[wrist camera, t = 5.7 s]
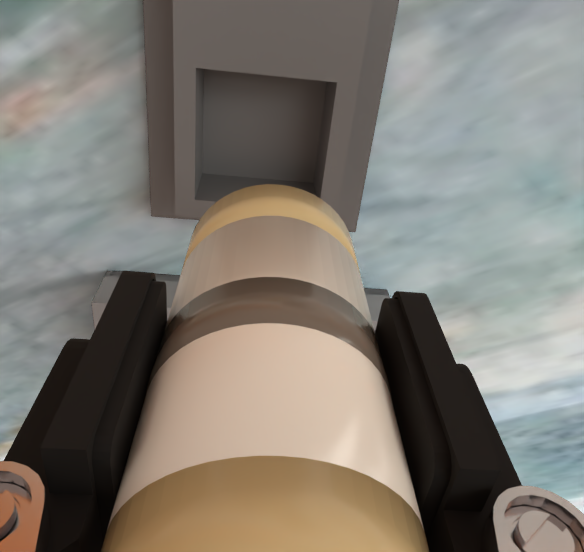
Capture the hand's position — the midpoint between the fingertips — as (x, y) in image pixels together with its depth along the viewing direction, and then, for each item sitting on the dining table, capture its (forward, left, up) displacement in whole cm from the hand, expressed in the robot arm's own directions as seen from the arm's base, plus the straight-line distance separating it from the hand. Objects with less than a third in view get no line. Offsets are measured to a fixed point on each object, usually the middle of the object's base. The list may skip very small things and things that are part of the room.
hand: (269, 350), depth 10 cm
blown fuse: (0, 0, -3) cm, 3 cm away
